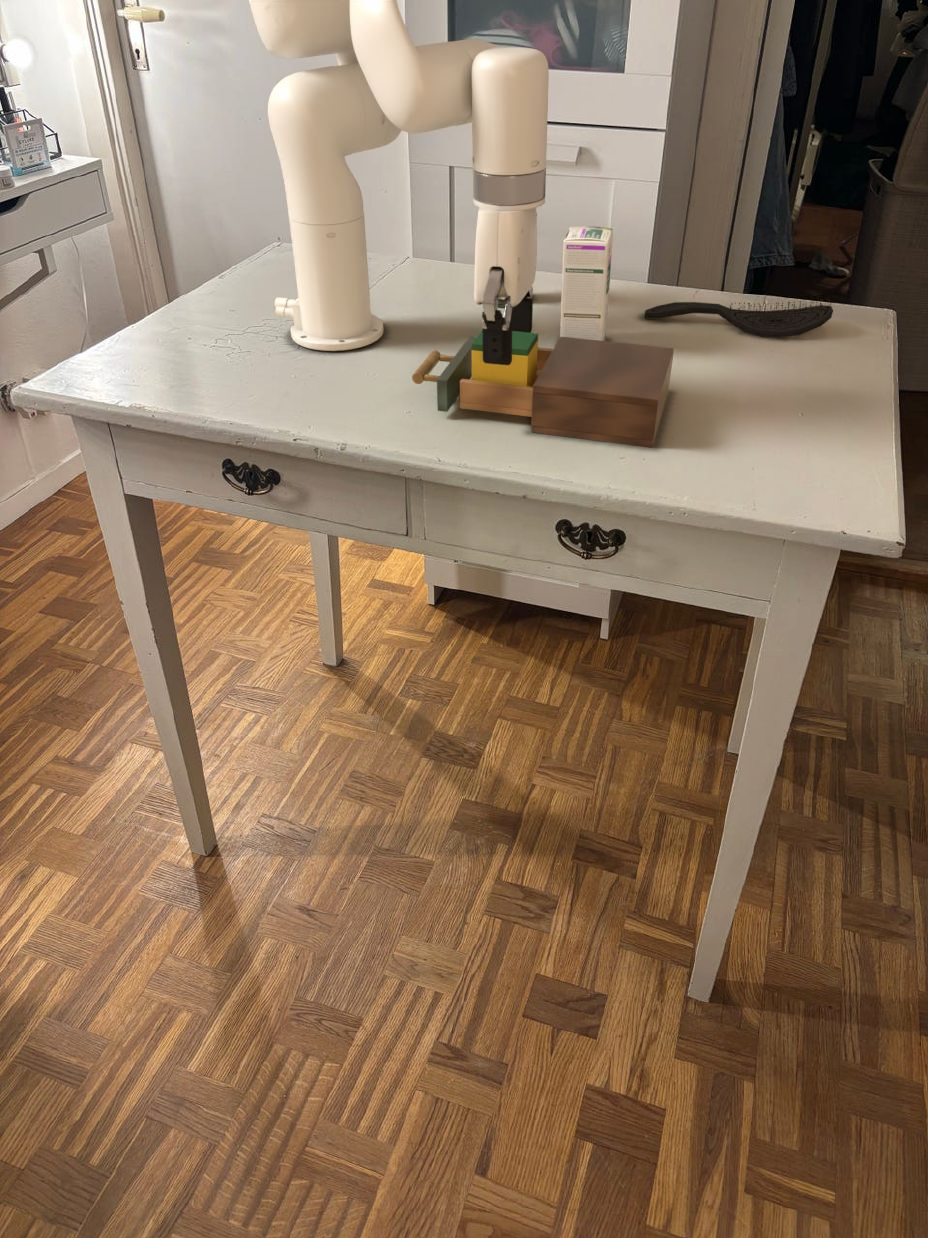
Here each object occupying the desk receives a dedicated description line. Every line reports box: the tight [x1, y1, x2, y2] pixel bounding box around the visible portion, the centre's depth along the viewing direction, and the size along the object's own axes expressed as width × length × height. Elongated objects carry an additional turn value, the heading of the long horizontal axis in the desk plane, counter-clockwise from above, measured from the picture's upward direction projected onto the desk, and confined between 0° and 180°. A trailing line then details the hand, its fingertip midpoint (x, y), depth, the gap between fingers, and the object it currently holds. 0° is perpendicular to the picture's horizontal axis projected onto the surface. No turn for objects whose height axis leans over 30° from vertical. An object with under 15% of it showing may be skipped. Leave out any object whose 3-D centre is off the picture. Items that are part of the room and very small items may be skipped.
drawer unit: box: [530, 336, 675, 448], centre depth 108 cm, size 14×15×6 cm
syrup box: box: [559, 225, 614, 341], centre depth 121 cm, size 6×6×14 cm
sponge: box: [471, 329, 539, 387], centre depth 109 cm, size 7×5×6 cm
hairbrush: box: [644, 297, 834, 339], centre depth 130 cm, size 8×4×25 cm
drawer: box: [411, 335, 554, 418], centre depth 111 cm, size 17×13×4 cm
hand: (508, 346), depth 108 cm, fingers open, 9 cm apart
